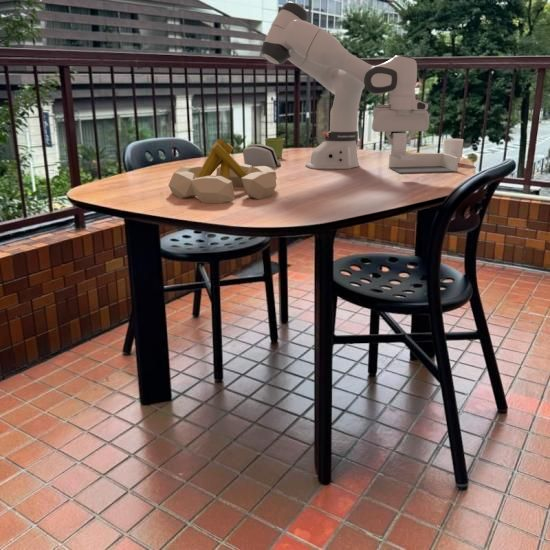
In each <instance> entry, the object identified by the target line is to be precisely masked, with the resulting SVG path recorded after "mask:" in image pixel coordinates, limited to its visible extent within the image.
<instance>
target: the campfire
mask: <svg viewBox="0 0 550 550" xmlns="http://www.w3.org/2000/svg"><path fill="white" fill-rule="evenodd" d="M233 150H234V147H233V145H231V144H230V143H229V142H225V141H224V140H223V139H220V138H218V139H216V140H215V142H214V143H213V144H212V146H211V150H210V152H209V153H208V156H207V158H206V159H205V161H204V163H203V164H202V166H196V165H185V166H181V167H180V168H178V169H177V170H175V171H174V172H173V174H172V176H171V178H170V180H169V182H168V187H169V189H170V191H171V193H172V194H173V195H174V196H175V197H177V198H180V199H189V198H195V197H197V199H198V200H199V201H200V202H201V203H203V204H224V203H227V202H230V201H232V200H235V192H234V187H242V186H243V188H244V191H245V192H246V194H247V197H248V198H249V199H255V200H262V199H266V198H270V197H272V196H273V193H274V191H275V189H276V187H277V171H275V170H274V169H273V168H272V167H267V166H253V165H247V164H245V163H244V162H243V163H242V162H237V161H236V160H235V159H234V157H232V155H230V154H231V153H232V151H233ZM215 171H216V175H212V174H213V173H215Z"/></svg>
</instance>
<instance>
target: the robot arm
mask: <svg viewBox="0 0 550 550" xmlns="http://www.w3.org/2000/svg"><path fill="white" fill-rule="evenodd" d="M270 25H271V26H270V28H269V30H268V32H267V35H266V37H265V39H264V41H263V43H262V46H261V49H260V50H261V54H262V56H263V57H264V58H265V59H266V60H267V61H268V62H270V63H272V64H274V65H283V64H285V62H287V60H288V61H289V62H290V63H292V64H293V66H295V67H297V68H298V69H299V70H301V71H302V72H303V73H306V74H307V75H308V76H310V77H311V78H313V79H314V80H315V81H317V82H318V84H320V85H322V87H324V88H325V89H326V90H327V91H329V92H330V93H331V94H333V95H334V98H333V103H332V107H331V109H330V117H329V118H330V120H329V131H323V132H322V136H323V137H324V141H322V142H321V143H320V144H319V145H318V146H316V147H315V148H314V149H313V150H312V151H311V155H310V161H306V162H305V167H307V168H309V169H317V170H318V169H320V170H321V169H323V170H326V169H327V170H329V169H333V170H335V169H337V170H338V169H339V170H340V169H343V170H344V169H345V170H346V169H347V170H349V169H352V168H356V167H357V168H358V167H360V163H359V158H358V157H359V156H358V149H357V148H358V147H357V146H358V143H359V140H358V139H359V135H358V134H359V132H358V129H357V128H358V114H359V113H358V112H359V106H360V102H361V97H362V93H363V90H364V88H365V89H366V90H367V91H368V92H369V93H370V94H372V95H376V96H379V95H384V94H386V93H389V101H388V102H389V104H377V105H376V106H374V107H373V109H372V116H373V118H372V123H371V124H372V125H371V129H372V131H373V132H377V133H378V132H379V133H382V132H384V133H385V134H384V135H385V136H386V139H387V145H391V146H392V145H393V139H392V137H391V136H392V132H393V133H396V132H397V133H400V132H408V136H407V143H406V145H411V141H412V139H413V137H414V136H415V132H427V131H428V130H429V127H430V114H429V112H428V109H429V104H428V103H426V102H423V101H421V100H418V99H416V90H415V89H416V85H417V81H418V80H417V78H418V64H417V61H416V59H415V58H414V57H412V56H409V55H402V54H396V55H394V56H393V57H392V58H390V59H389V60H387V61H385V62H383V63H380V64H378V65H375V64H374V65H373V64H370V63H368V62H366V61H364V60H362V59H361V58H359V57H358V56H356V55H354V54H352V53H351V52H349V51H348V50H347V49H346V48H345V47H344V46H343V44H341V42H340V41H339V40H338V39H337V38H335V37H334V35H332V34H331V33H330V32H328V31H326V30H325V29H323V28H322V27H320V26H318V25H315V24H313V23H311V22H308V13H307V11H306V9H305V8H304V7H303V6H302V5H301V4H300V3H297V2H293V1H287V2H285V3H284V4H283V5H282V6H281V8H280V10H279V12H278V14H276V16H275V18H274V20H273V22H272V23H271V24H270Z"/></svg>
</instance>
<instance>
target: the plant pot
mask: <svg viewBox="0 0 550 550" xmlns="http://www.w3.org/2000/svg"><path fill="white" fill-rule="evenodd" d="M264 141H265V143H266V146H269V147H271V148H273V149H274V150H275V153H276V156H277V159H281V158H283V150H284V143H285V141H286V138H285V137H268V138H264Z"/></svg>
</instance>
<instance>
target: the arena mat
mask: <svg viewBox="0 0 550 550" xmlns="http://www.w3.org/2000/svg"><path fill="white" fill-rule="evenodd" d="M389 168H390V169H389ZM388 169H389V170H392V171H393V172H395V173H396V174H397V173H398V175H399V174H400V175H401V174H402V175H405V174H406V175H407V174H409V175H410V174H440V173H441V174H443V173H447V174H448V173H456V172H455V171H454V170H451V169H449V168H446V167H443V166H419V167H389V166H388Z"/></svg>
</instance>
